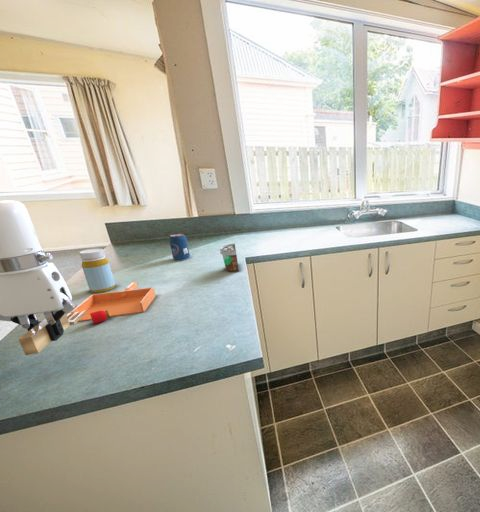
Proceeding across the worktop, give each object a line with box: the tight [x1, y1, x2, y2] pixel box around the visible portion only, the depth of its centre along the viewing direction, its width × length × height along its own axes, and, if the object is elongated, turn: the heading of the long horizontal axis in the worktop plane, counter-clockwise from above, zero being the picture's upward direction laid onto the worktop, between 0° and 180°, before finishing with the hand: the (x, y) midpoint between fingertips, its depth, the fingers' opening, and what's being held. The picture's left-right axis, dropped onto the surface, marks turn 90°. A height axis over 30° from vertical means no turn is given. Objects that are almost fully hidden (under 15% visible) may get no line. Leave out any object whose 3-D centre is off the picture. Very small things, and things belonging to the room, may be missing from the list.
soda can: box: [168, 233, 191, 262], centre depth 142 cm, size 7×7×12 cm
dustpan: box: [70, 281, 156, 323], centre depth 100 cm, size 22×17×3 cm
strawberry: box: [90, 310, 111, 325], centre depth 88 cm, size 3×3×4 cm
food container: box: [219, 243, 240, 273], centre depth 129 cm, size 12×6×10 cm, turn 27°
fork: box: [18, 311, 86, 356], centre depth 69 cm, size 4×18×4 cm, turn 22°
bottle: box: [78, 248, 116, 294], centre depth 107 cm, size 7×7×15 cm
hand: (49, 338), depth 66 cm, fingers closed on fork, 2 cm apart
